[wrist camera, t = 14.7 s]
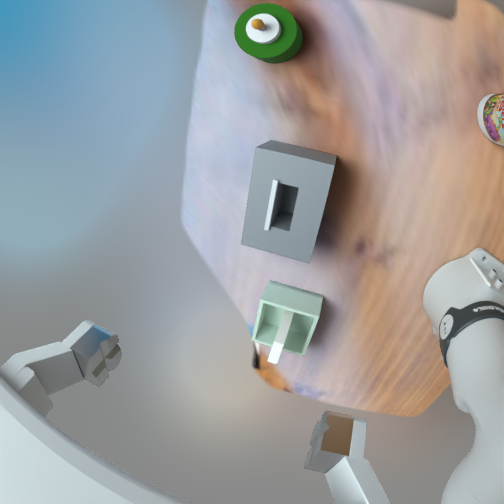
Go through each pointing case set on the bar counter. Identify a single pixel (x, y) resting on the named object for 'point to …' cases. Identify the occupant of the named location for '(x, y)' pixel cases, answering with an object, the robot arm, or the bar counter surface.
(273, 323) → the stub box
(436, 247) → the bar counter surface
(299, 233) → the block
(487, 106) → the milk bottle
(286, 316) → the pale bar
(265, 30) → the candle
